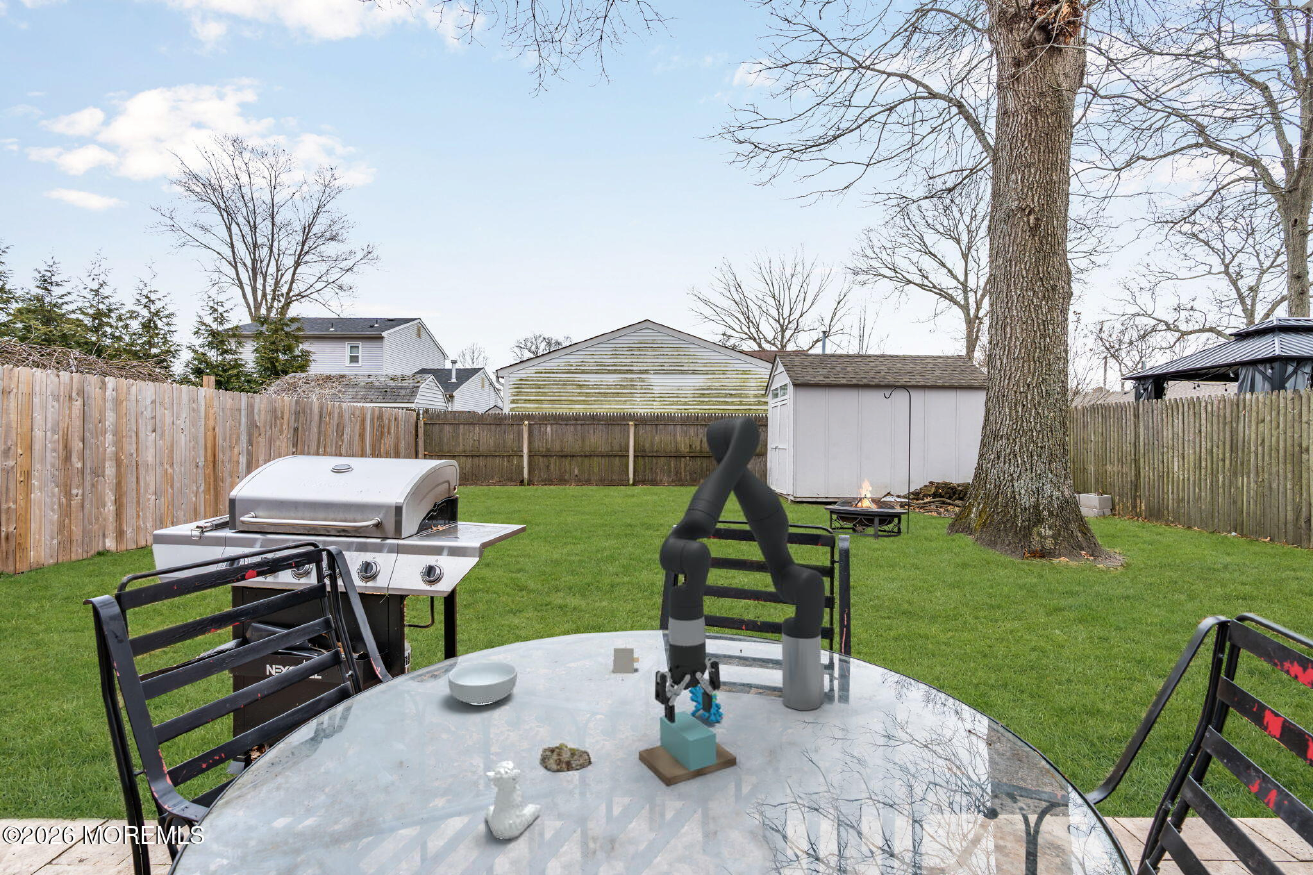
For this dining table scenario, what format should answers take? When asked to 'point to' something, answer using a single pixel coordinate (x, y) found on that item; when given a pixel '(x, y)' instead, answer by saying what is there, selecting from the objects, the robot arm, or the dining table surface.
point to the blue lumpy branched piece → (697, 698)
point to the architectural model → (624, 660)
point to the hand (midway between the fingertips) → (688, 716)
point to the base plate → (677, 772)
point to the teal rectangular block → (688, 741)
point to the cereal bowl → (482, 681)
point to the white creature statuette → (508, 803)
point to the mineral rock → (564, 758)
